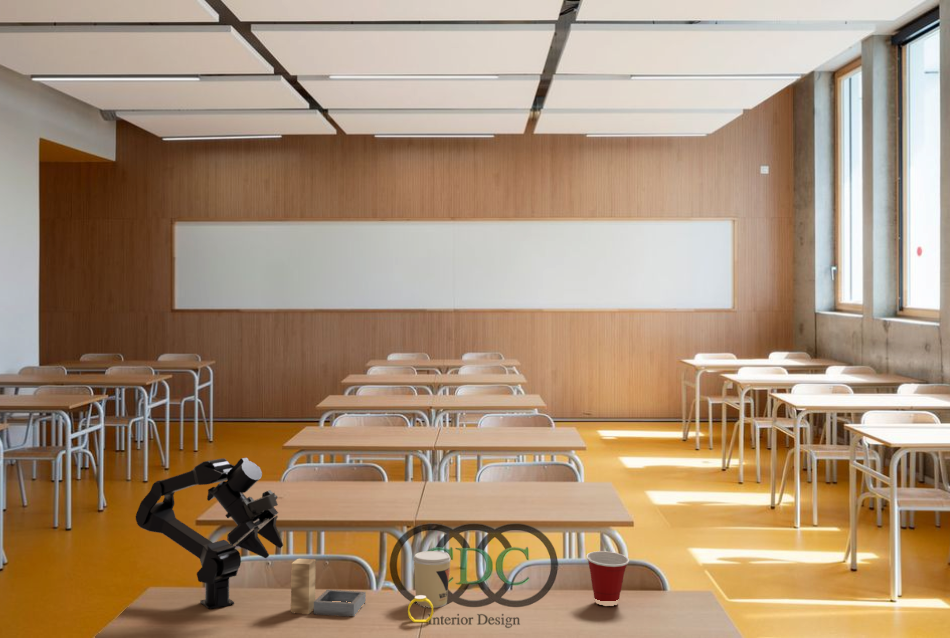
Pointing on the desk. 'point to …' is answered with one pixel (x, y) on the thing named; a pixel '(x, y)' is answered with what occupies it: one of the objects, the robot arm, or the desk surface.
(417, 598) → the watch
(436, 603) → the coffee cup
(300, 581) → the rectangular block
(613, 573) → the plastic cup
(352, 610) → the grey square tray
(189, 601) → the desk surface
